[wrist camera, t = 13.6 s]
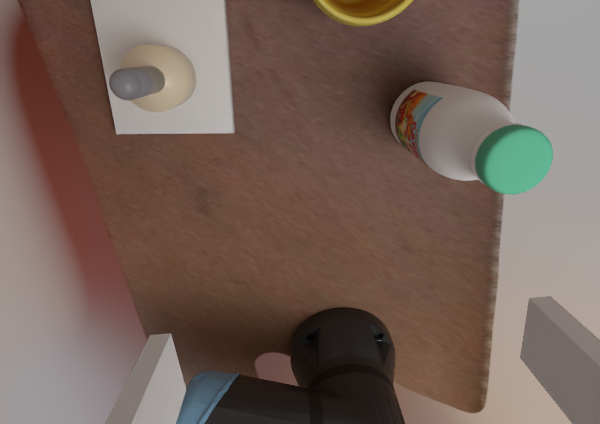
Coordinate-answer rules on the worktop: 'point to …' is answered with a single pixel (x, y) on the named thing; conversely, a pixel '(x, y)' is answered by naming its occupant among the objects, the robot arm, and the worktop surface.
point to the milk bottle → (470, 137)
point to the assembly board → (183, 34)
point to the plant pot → (361, 10)
